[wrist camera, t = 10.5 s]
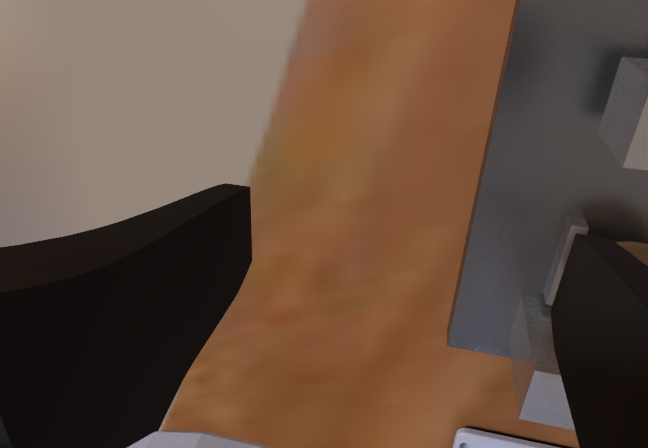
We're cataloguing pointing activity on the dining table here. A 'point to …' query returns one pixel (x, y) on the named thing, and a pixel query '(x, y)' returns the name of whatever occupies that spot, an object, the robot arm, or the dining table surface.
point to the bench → (546, 187)
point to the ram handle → (628, 114)
